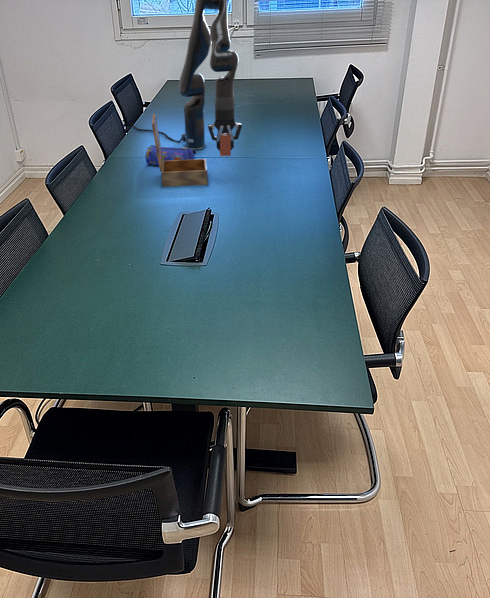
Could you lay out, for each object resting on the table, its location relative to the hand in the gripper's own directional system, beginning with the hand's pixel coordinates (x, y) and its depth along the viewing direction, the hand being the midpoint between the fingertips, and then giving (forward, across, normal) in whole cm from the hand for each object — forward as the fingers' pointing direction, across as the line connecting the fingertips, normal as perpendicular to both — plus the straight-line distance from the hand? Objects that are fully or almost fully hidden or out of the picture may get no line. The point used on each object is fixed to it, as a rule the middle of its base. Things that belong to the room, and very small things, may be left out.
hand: (225, 149), depth 223 cm
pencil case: (+13, +23, -18) cm, 32 cm away
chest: (+13, +17, -1) cm, 22 cm away
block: (+2, 0, 0) cm, 2 cm away
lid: (-4, +27, -1) cm, 27 cm away
